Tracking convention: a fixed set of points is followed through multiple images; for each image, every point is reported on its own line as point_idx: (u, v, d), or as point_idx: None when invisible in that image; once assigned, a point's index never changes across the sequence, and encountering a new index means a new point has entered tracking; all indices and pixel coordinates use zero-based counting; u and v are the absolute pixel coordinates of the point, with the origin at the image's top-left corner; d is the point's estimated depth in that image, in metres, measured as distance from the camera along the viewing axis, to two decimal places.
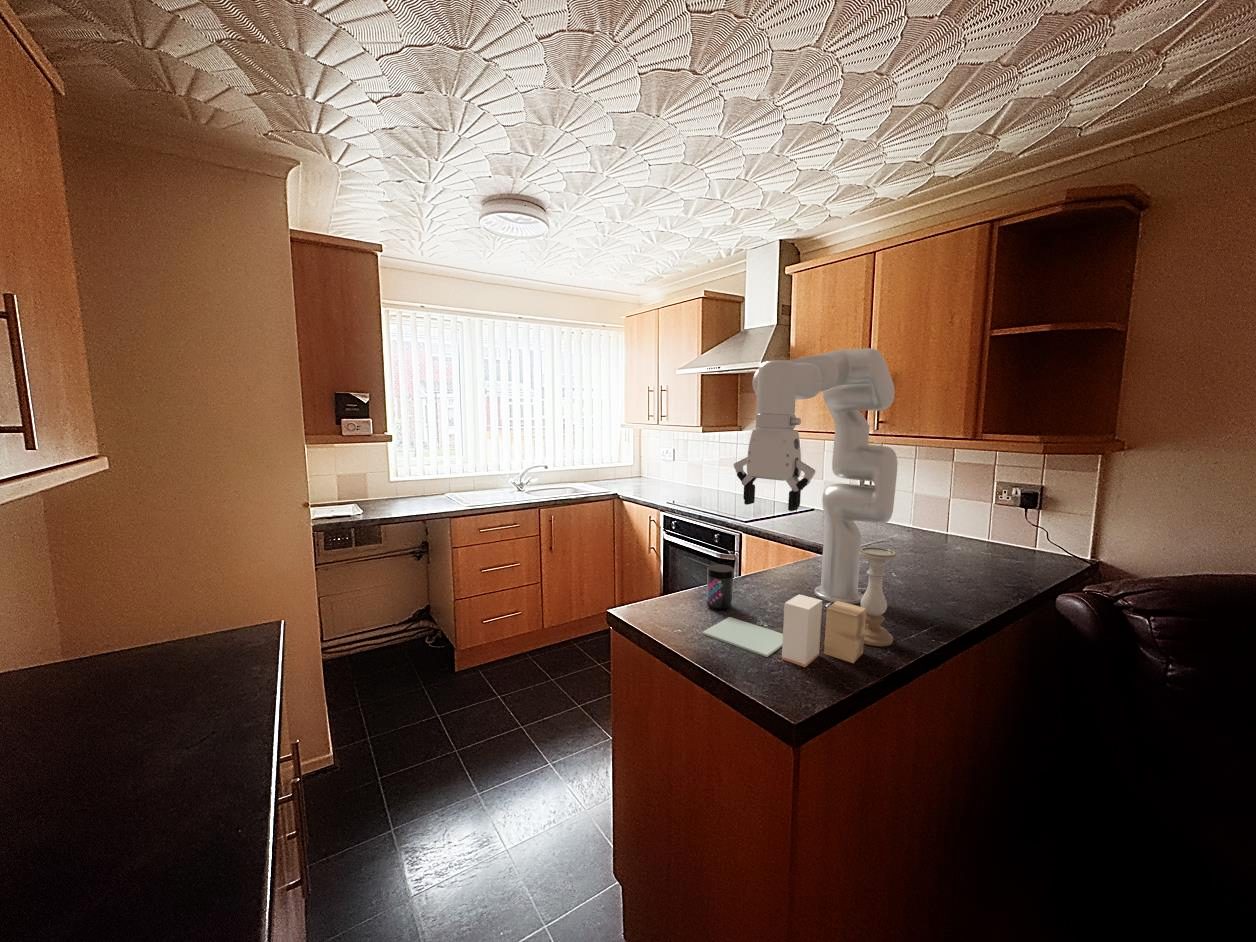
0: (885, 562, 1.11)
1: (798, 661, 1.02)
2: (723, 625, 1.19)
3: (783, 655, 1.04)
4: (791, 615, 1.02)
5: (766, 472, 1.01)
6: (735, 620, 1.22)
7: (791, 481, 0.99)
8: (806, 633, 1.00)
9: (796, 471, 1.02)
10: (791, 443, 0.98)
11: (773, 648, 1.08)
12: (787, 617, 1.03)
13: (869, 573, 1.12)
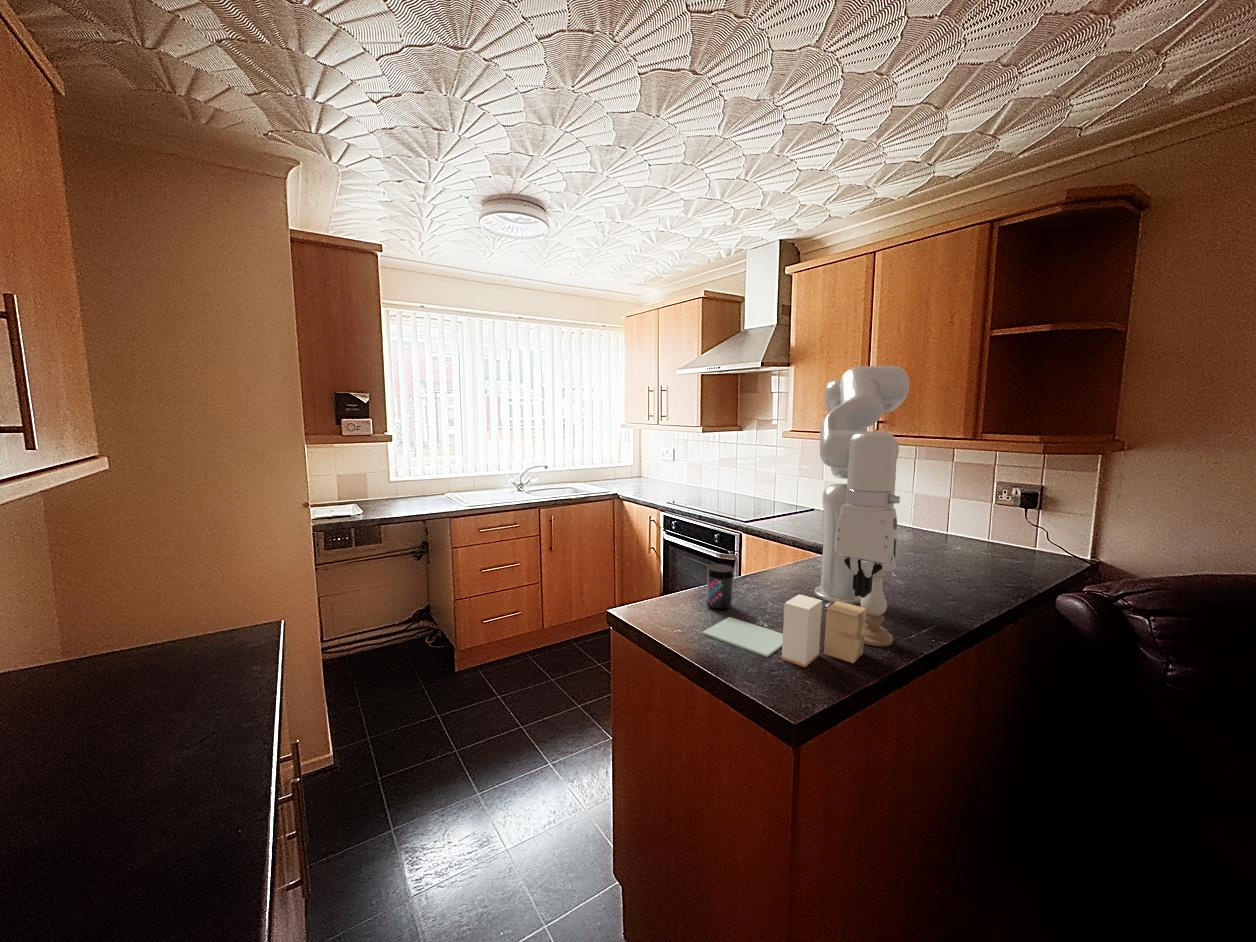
0: None
1: (798, 661, 1.02)
2: (723, 625, 1.19)
3: (783, 655, 1.04)
4: (791, 615, 1.02)
5: (859, 552, 0.93)
6: (735, 620, 1.22)
7: (870, 567, 0.93)
8: (806, 633, 1.00)
9: None
10: (890, 523, 0.90)
11: (773, 648, 1.08)
12: (787, 617, 1.03)
13: None
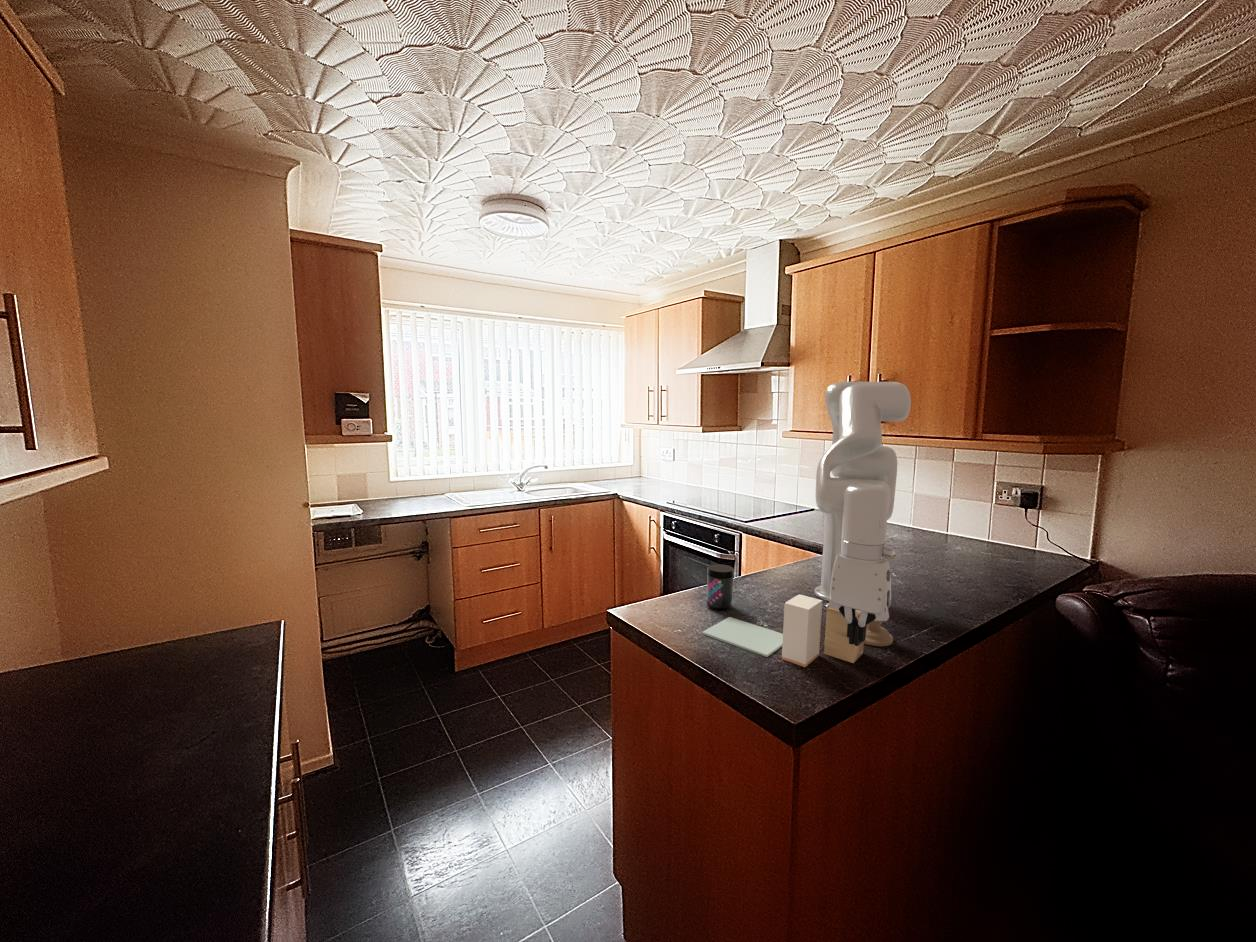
0: None
1: (798, 661, 1.02)
2: (723, 625, 1.19)
3: (783, 655, 1.04)
4: (791, 615, 1.02)
5: (853, 603, 0.95)
6: (735, 620, 1.22)
7: (864, 617, 0.94)
8: (806, 633, 1.00)
9: None
10: (883, 576, 0.91)
11: (773, 648, 1.08)
12: (787, 617, 1.03)
13: None
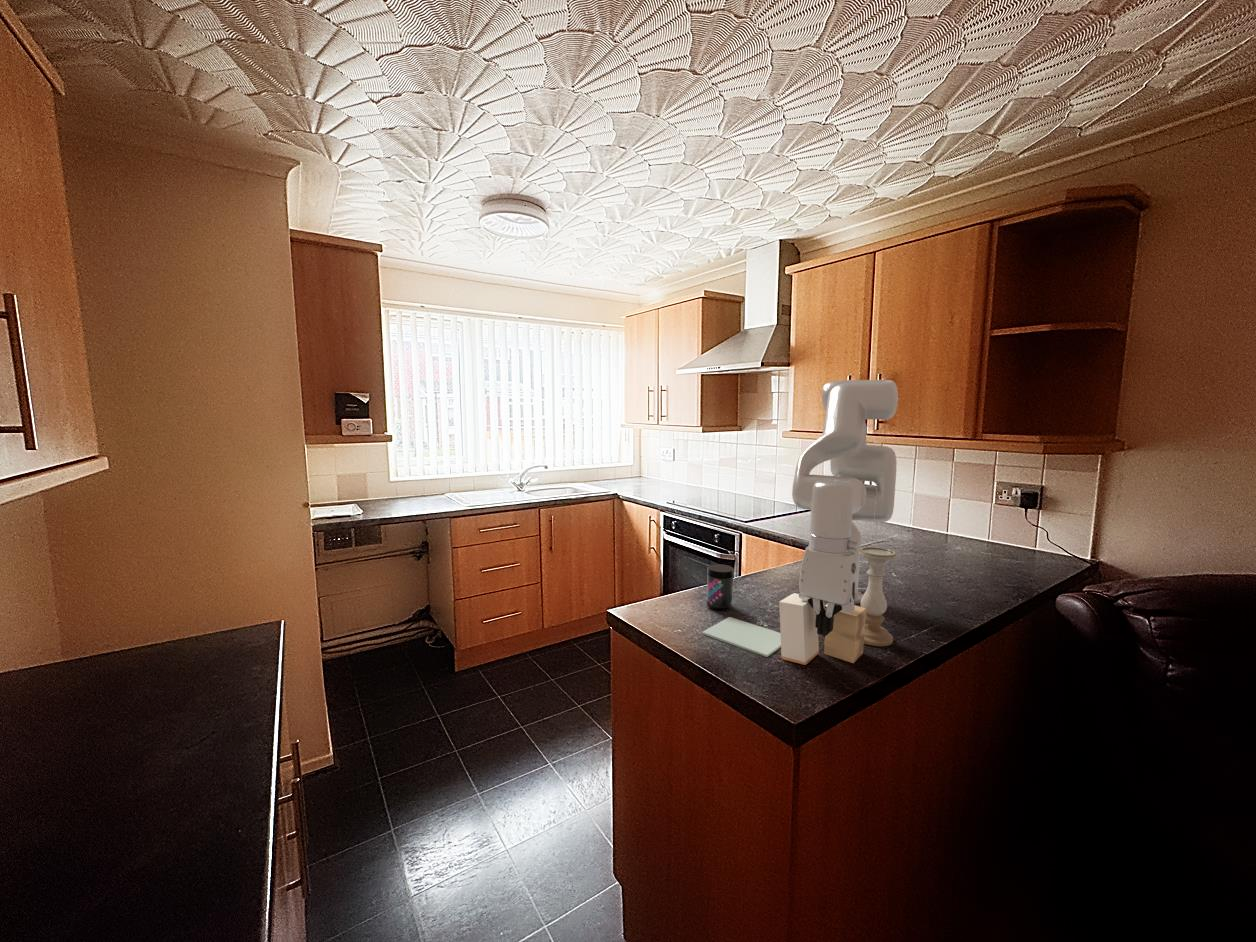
0: (885, 562, 1.11)
1: (797, 659, 1.02)
2: (723, 625, 1.19)
3: (783, 655, 1.04)
4: (786, 613, 1.03)
5: (821, 594, 0.99)
6: (735, 620, 1.22)
7: (831, 608, 0.98)
8: (803, 630, 1.01)
9: (851, 592, 1.00)
10: (849, 568, 0.95)
11: (773, 648, 1.08)
12: (783, 616, 1.03)
13: (869, 573, 1.12)
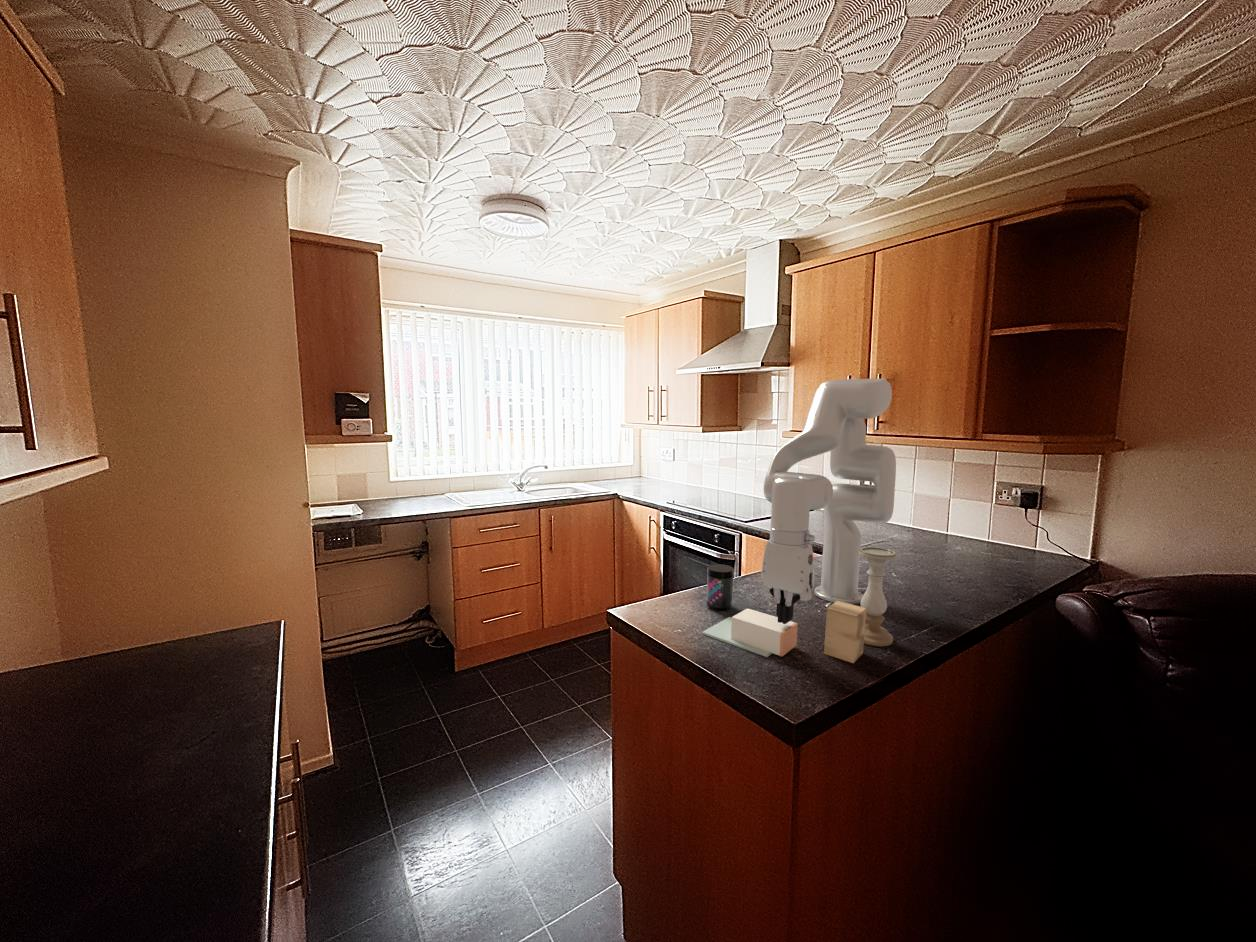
0: (885, 562, 1.11)
1: (779, 639, 1.04)
2: (723, 625, 1.19)
3: (778, 653, 1.05)
4: (740, 634, 1.10)
5: (781, 584, 1.04)
6: None
7: (790, 597, 1.04)
8: (752, 624, 1.08)
9: (810, 582, 1.05)
10: (805, 560, 1.01)
11: None
12: (742, 639, 1.10)
13: (869, 573, 1.12)
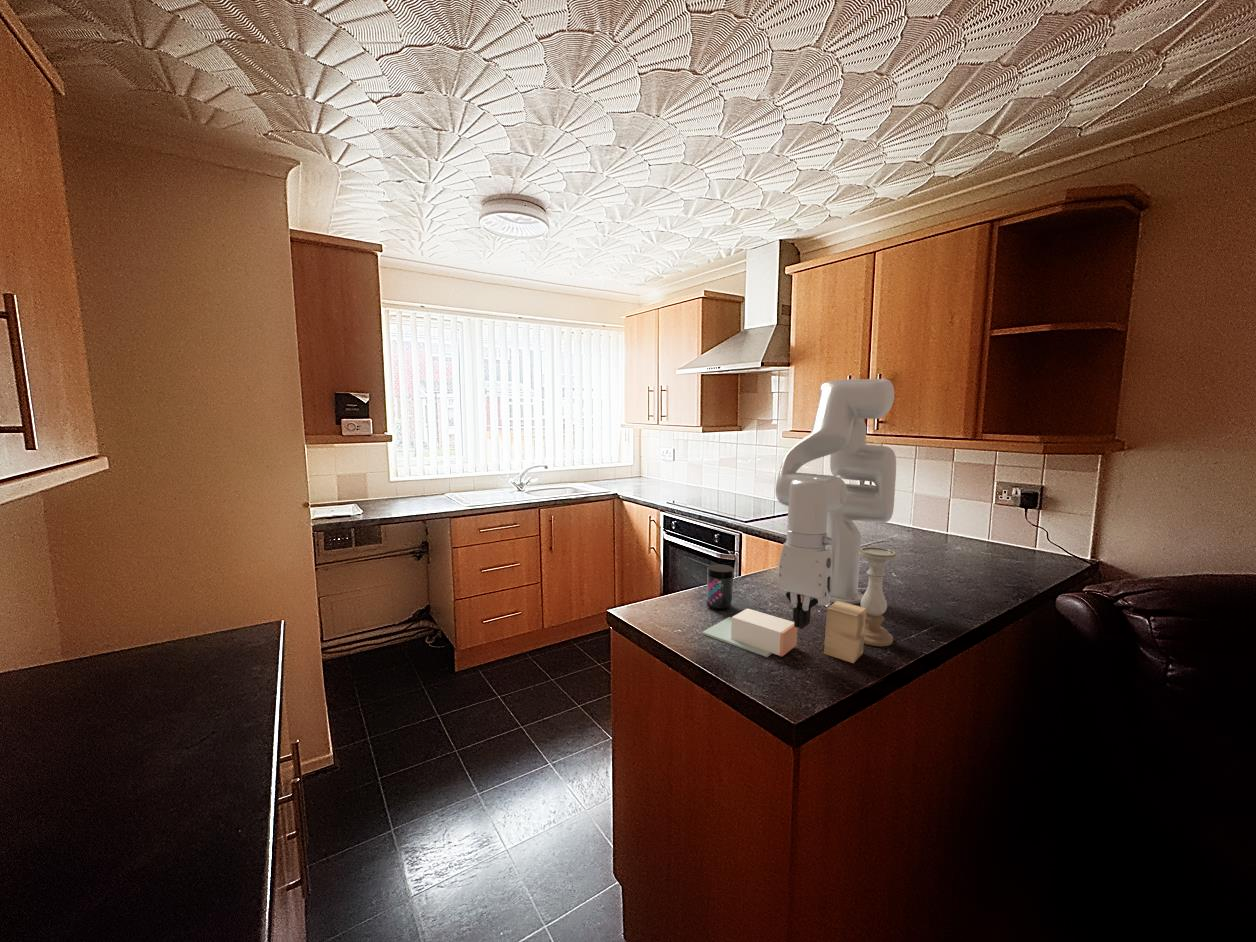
0: (885, 562, 1.11)
1: (779, 639, 1.04)
2: (723, 625, 1.19)
3: (778, 653, 1.05)
4: (740, 634, 1.10)
5: (798, 588, 1.02)
6: None
7: (807, 601, 1.02)
8: (752, 624, 1.08)
9: (827, 586, 1.03)
10: (823, 563, 0.99)
11: None
12: (742, 639, 1.10)
13: (869, 573, 1.12)
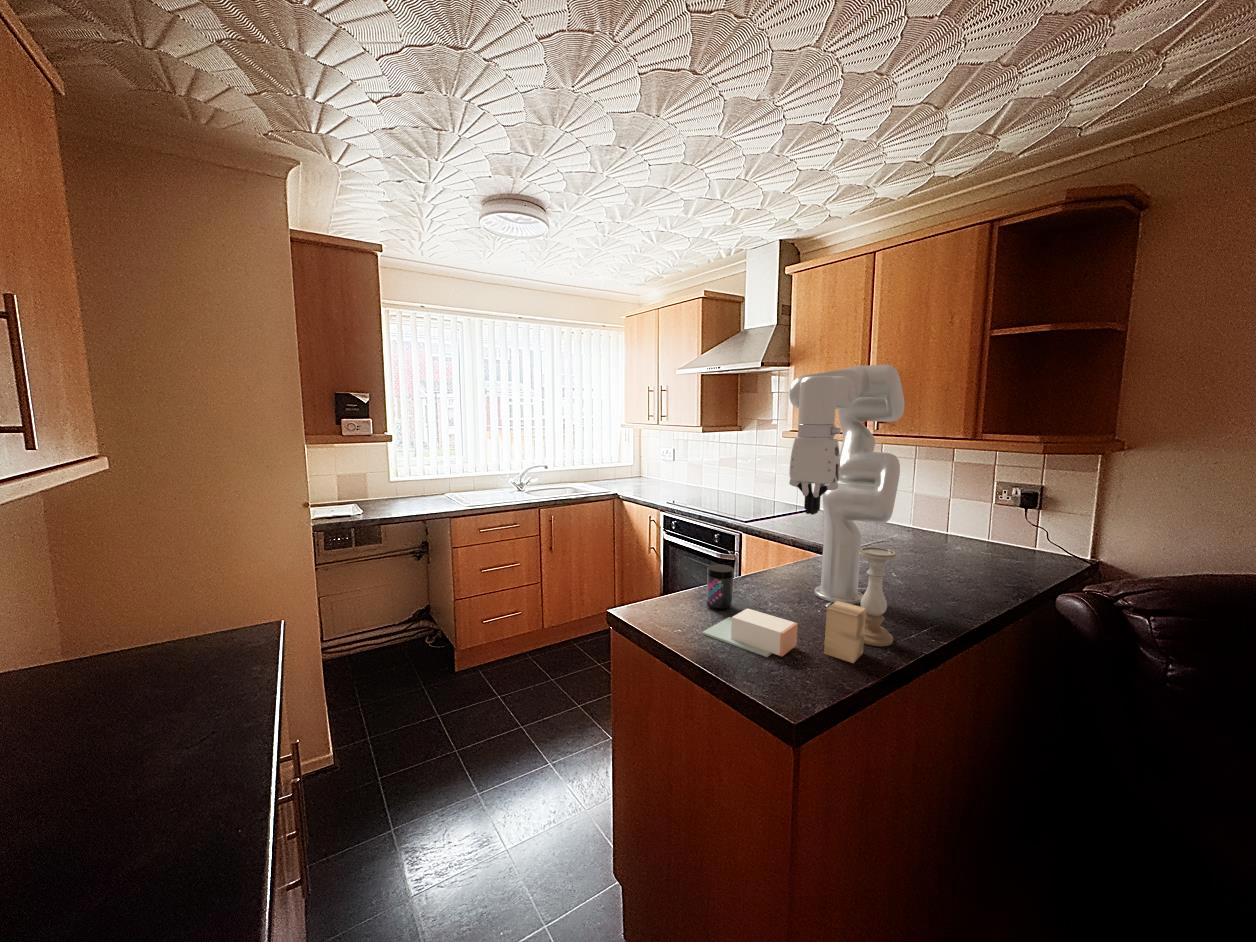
0: (885, 562, 1.11)
1: (779, 639, 1.04)
2: (723, 625, 1.19)
3: (778, 653, 1.05)
4: (740, 634, 1.10)
5: (808, 477, 1.12)
6: None
7: (818, 488, 1.12)
8: (752, 624, 1.08)
9: (835, 475, 1.13)
10: (832, 451, 1.08)
11: None
12: (742, 639, 1.10)
13: (869, 573, 1.12)
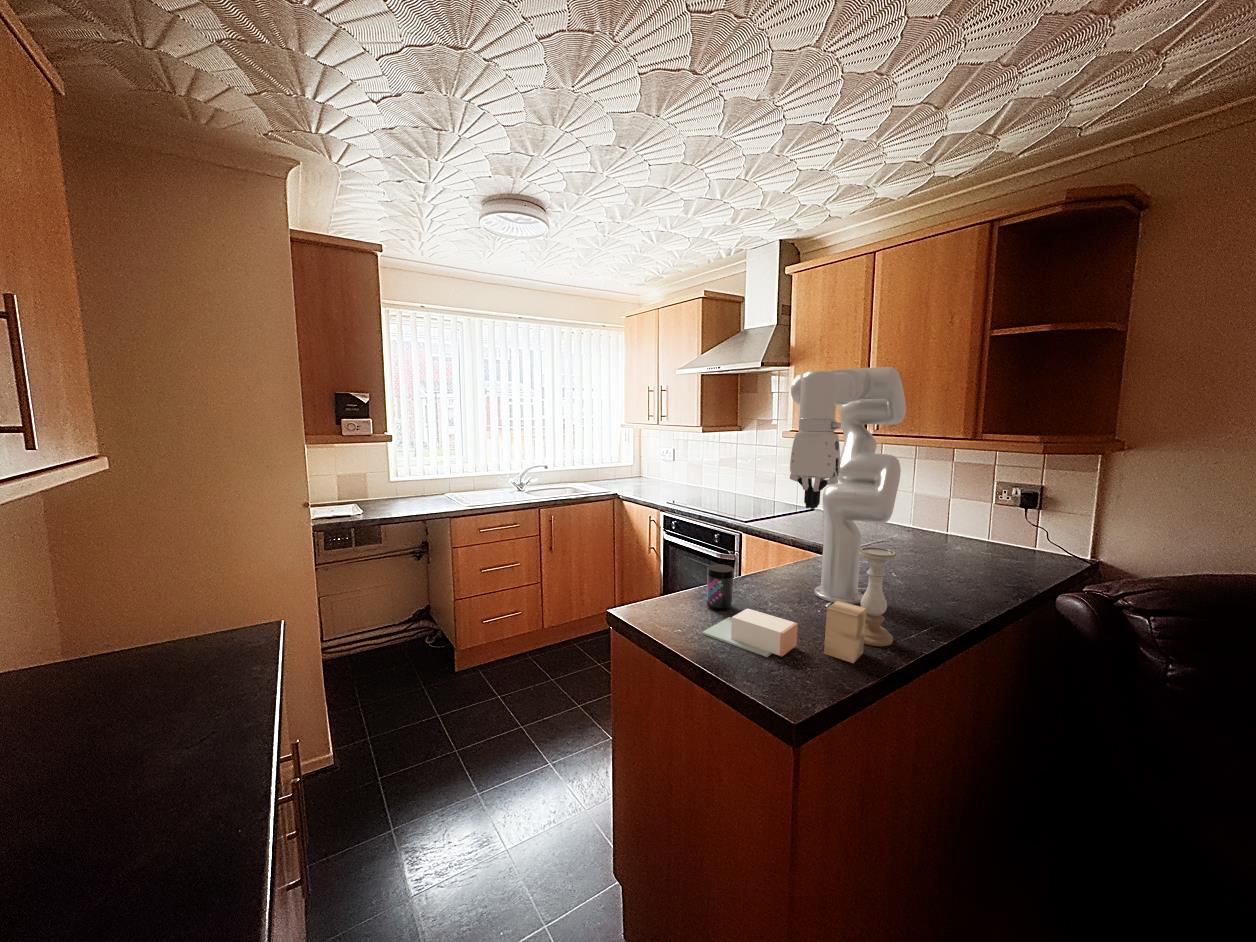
0: (885, 562, 1.11)
1: (779, 639, 1.04)
2: (723, 625, 1.19)
3: (778, 653, 1.05)
4: (740, 634, 1.10)
5: (809, 471, 1.13)
6: None
7: (818, 482, 1.13)
8: (752, 624, 1.08)
9: (835, 470, 1.14)
10: (832, 445, 1.10)
11: None
12: (742, 639, 1.10)
13: (869, 573, 1.12)
